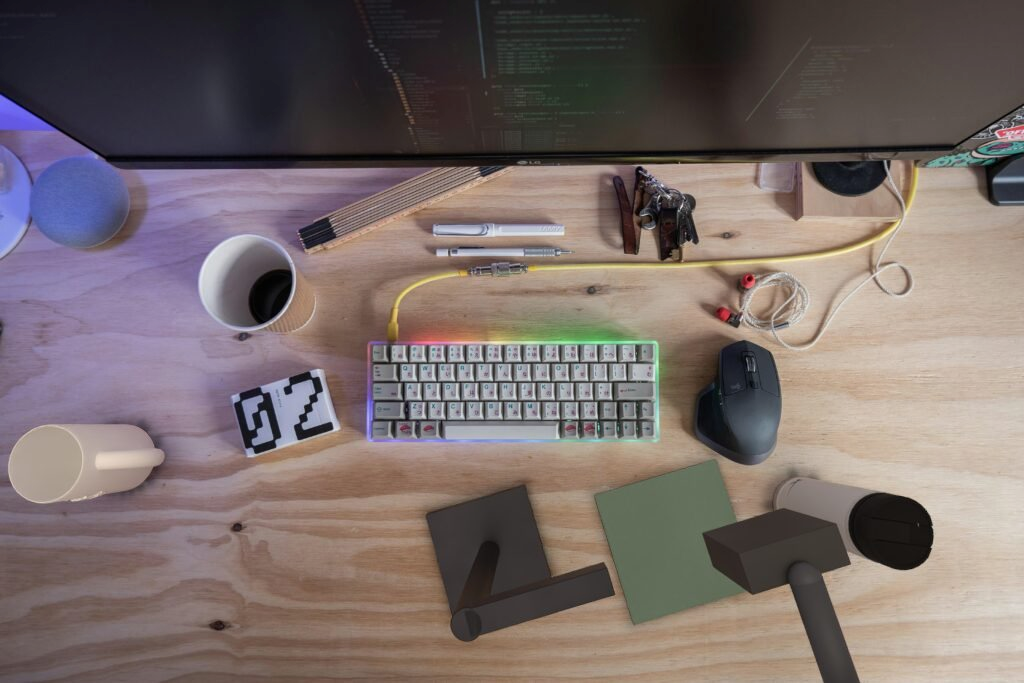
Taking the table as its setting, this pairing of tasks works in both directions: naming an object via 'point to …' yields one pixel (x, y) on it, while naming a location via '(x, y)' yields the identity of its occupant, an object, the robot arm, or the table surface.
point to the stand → (503, 566)
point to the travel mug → (864, 519)
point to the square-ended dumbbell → (790, 574)
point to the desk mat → (668, 540)
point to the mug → (81, 461)
